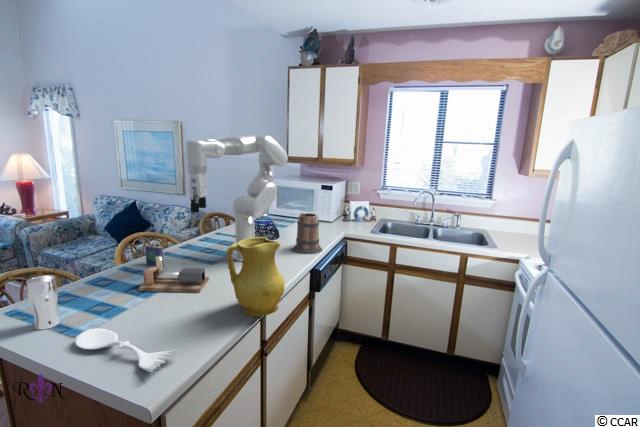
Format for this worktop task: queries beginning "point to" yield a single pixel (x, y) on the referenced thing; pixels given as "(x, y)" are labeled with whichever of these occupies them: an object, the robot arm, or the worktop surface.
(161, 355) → the spoon
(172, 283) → the base board
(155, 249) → the flask
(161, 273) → the brushed metal peg
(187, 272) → the outer sleeve
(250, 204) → the robot arm
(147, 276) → the socket block
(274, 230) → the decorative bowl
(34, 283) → the beer glass
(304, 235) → the tankard
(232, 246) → the pitcher
